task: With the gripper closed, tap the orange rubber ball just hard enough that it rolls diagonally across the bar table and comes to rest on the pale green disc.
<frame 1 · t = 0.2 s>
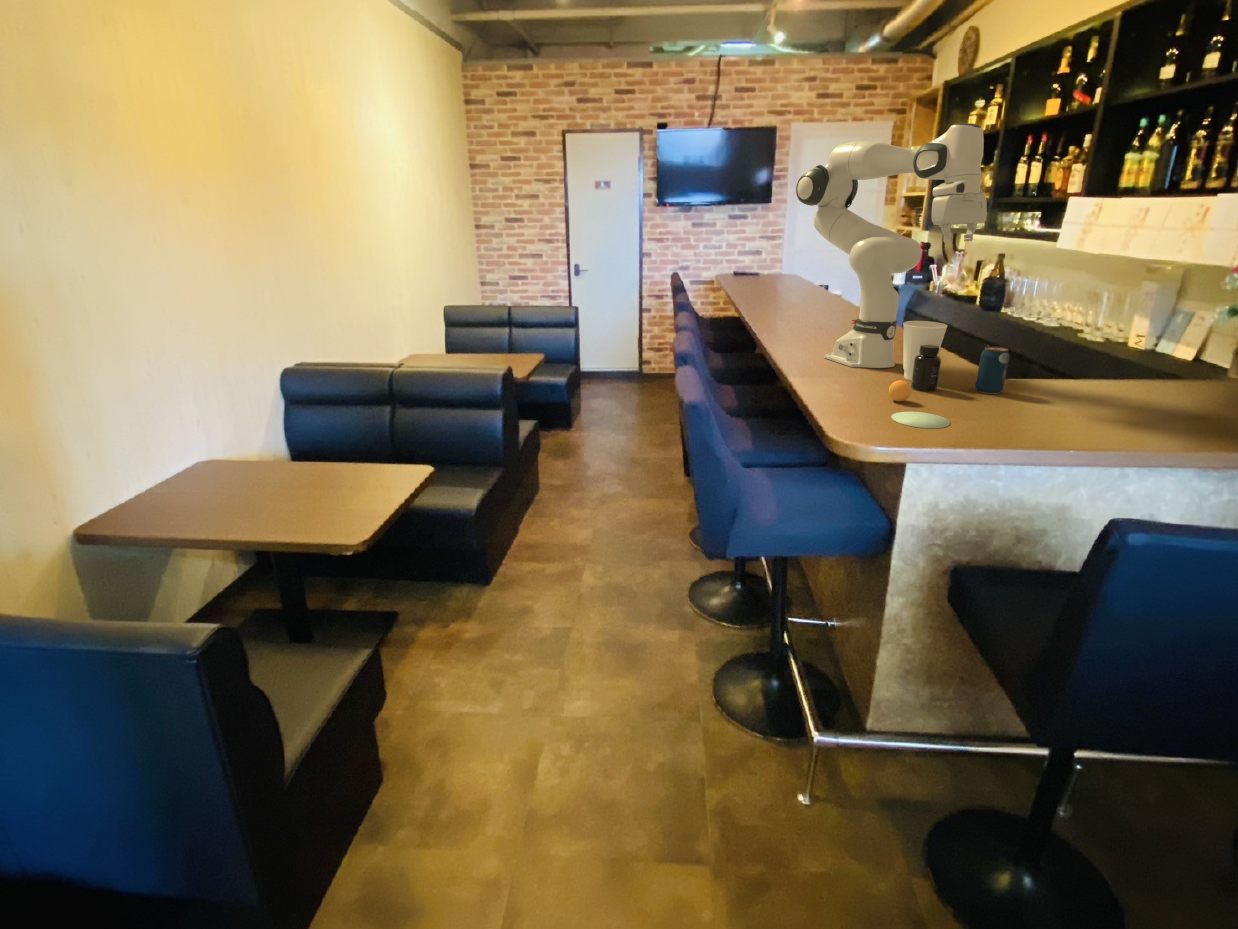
hand: (958, 241, 191), 39 cm above the table, tool pointing down, fingers open, 8 cm apart
ball: (899, 390, 181), on the table
cup: (916, 378, 206), on the table
soda can: (987, 392, 192), on the table
pale green disc: (920, 420, 166), on the table
supplement bottle: (923, 389, 195), on the table
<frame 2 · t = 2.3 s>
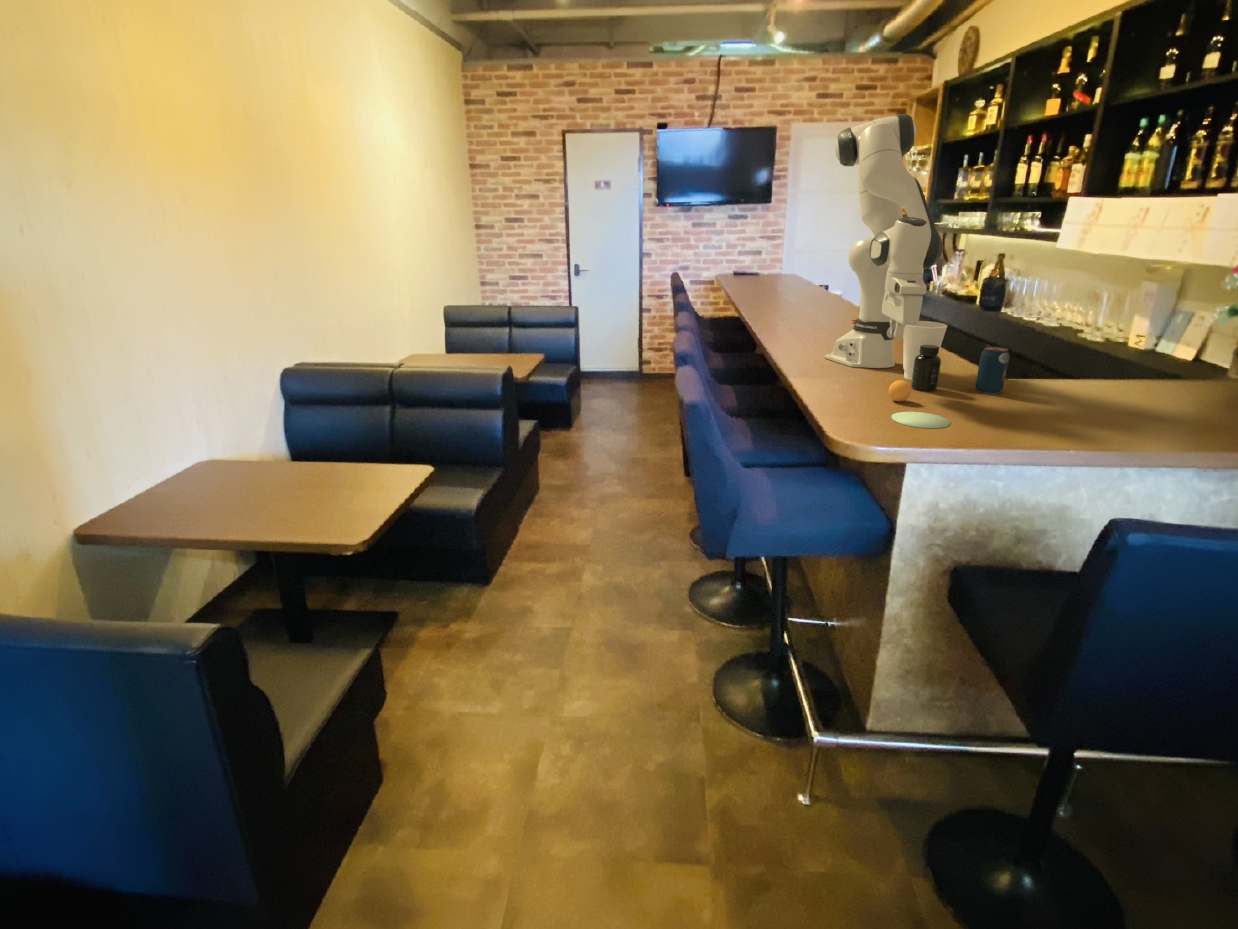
hand: (895, 336, 186), 15 cm above the table, tool pointing down, fingers closed
nothing on the table moved.
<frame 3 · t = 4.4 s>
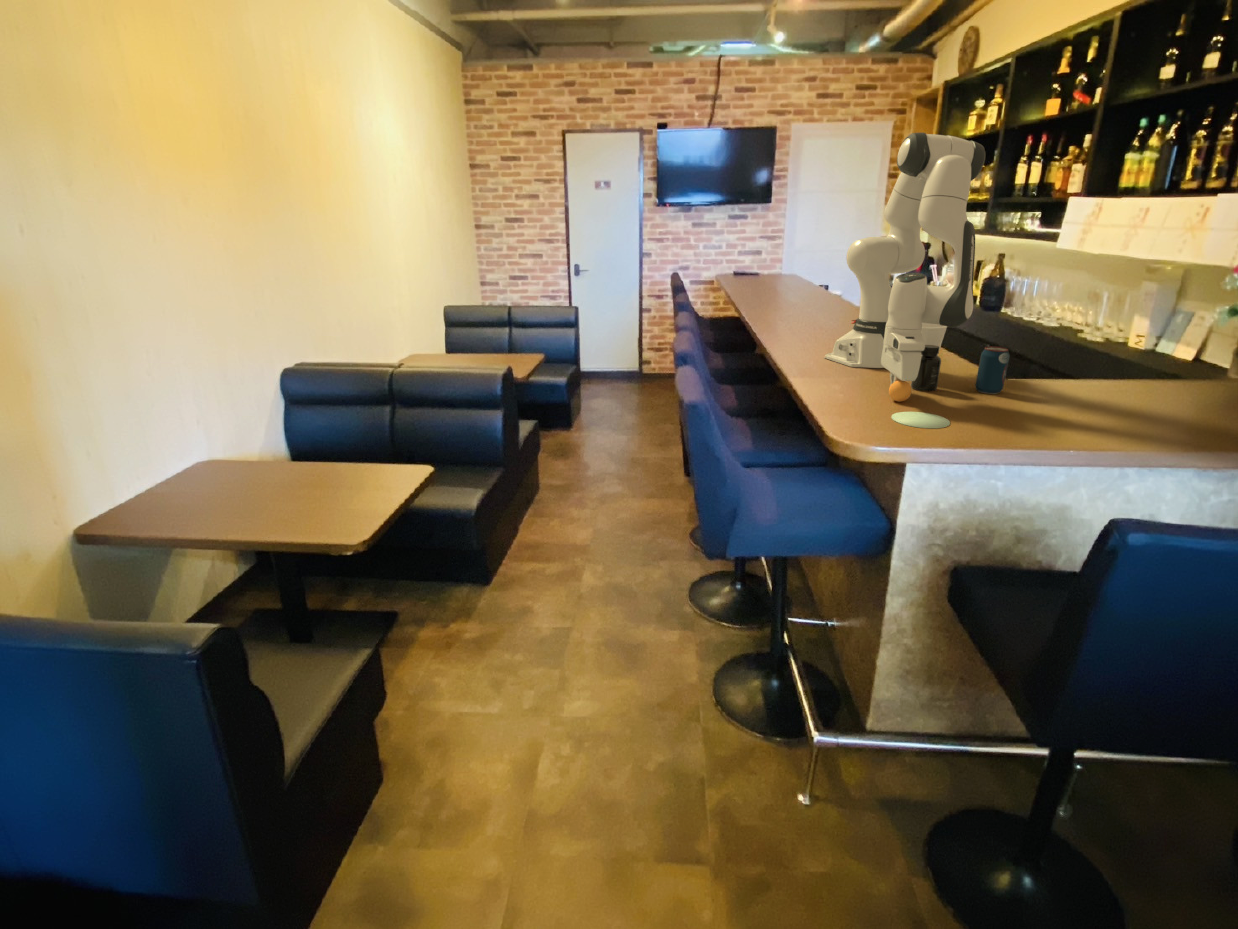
hand: (894, 390, 185), 2 cm above the table, tool pointing down, fingers closed
ball: (900, 390, 181), on the table, touching gripper
everything else where it was.
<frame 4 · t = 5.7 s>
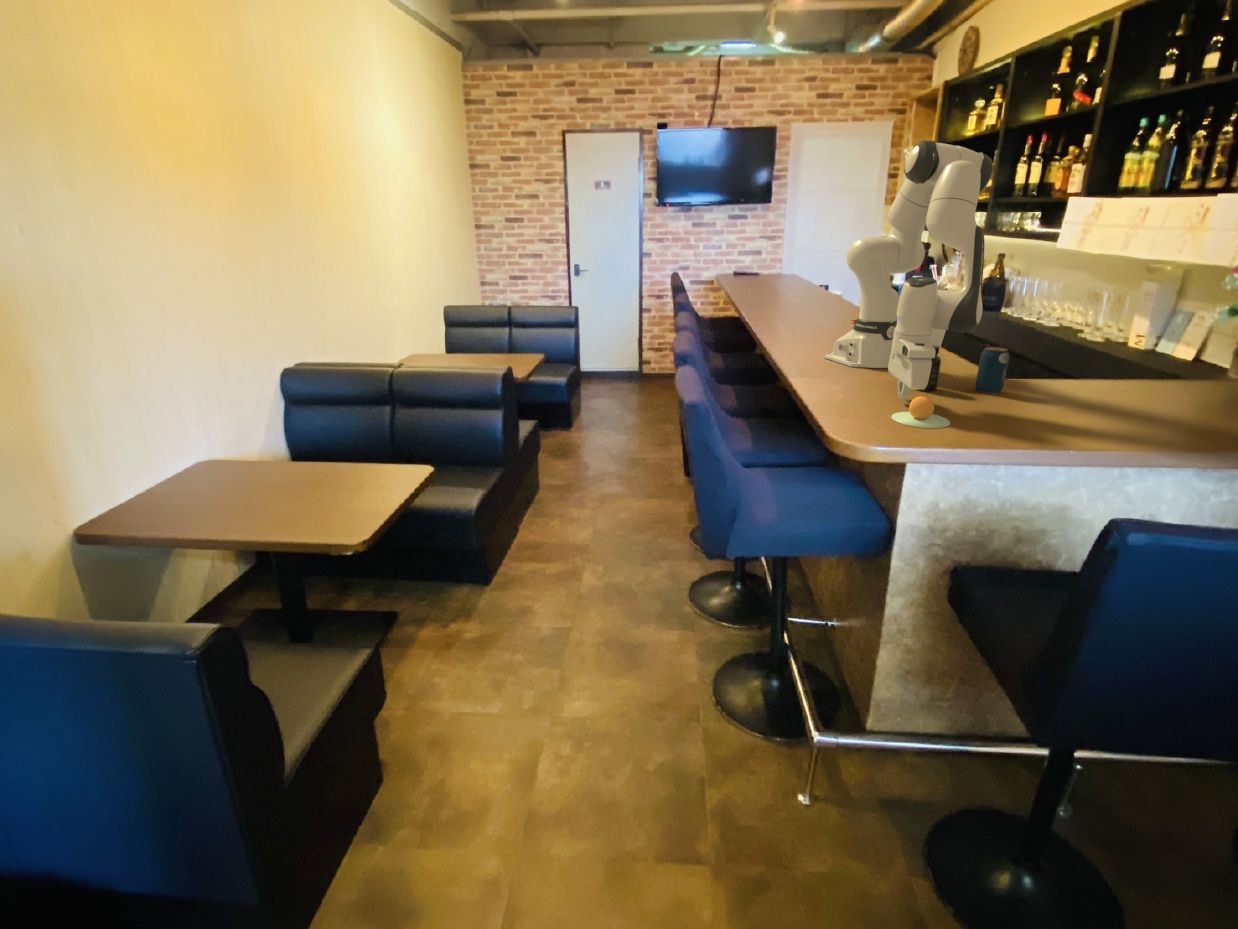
hand: (902, 398, 179), 2 cm above the table, tool pointing down, fingers closed
ball: (921, 407, 166), on the table
everything else where it was.
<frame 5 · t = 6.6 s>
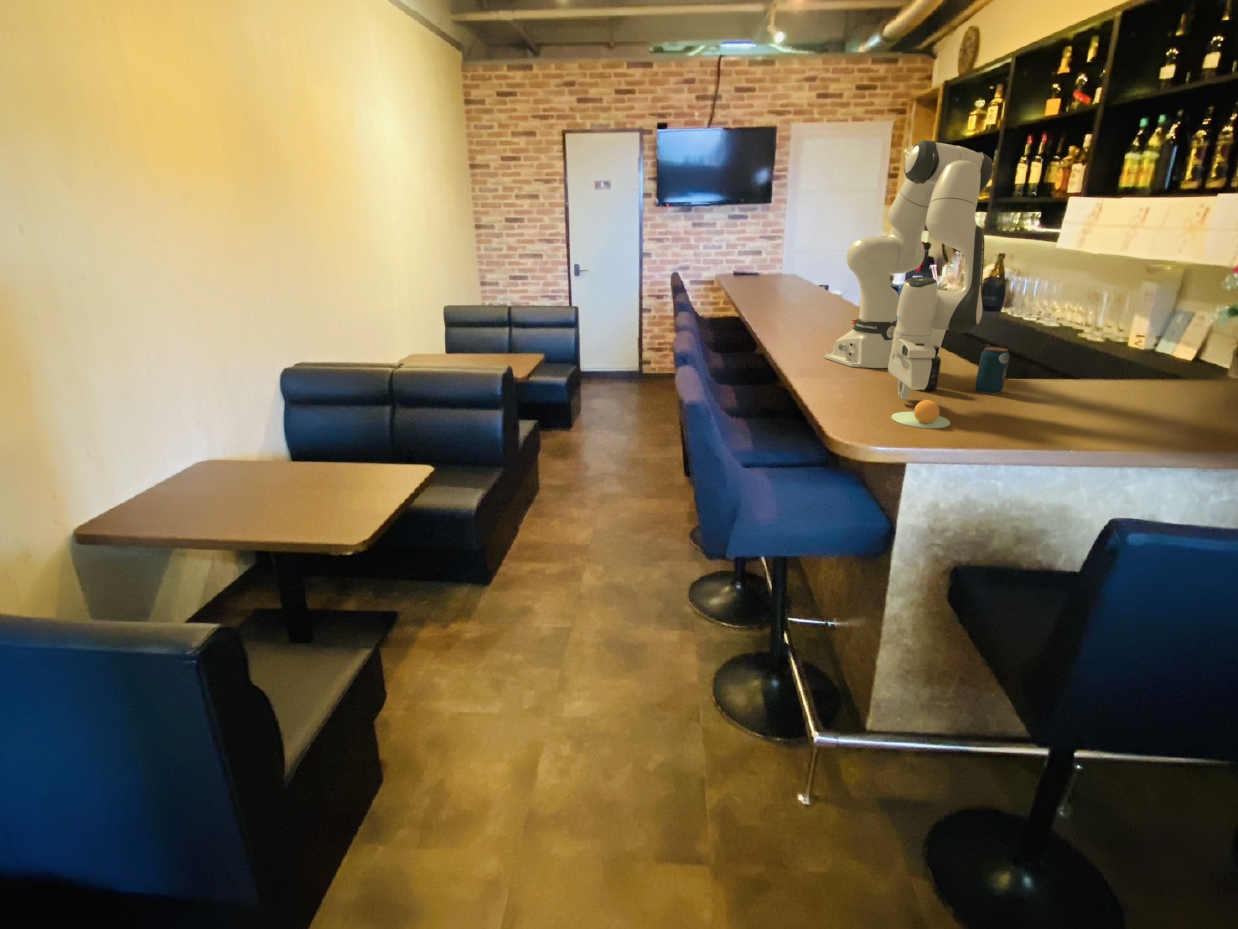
hand: (902, 398, 179), 2 cm above the table, tool pointing down, fingers closed
ball: (926, 411, 163), on the table
everything else where it was.
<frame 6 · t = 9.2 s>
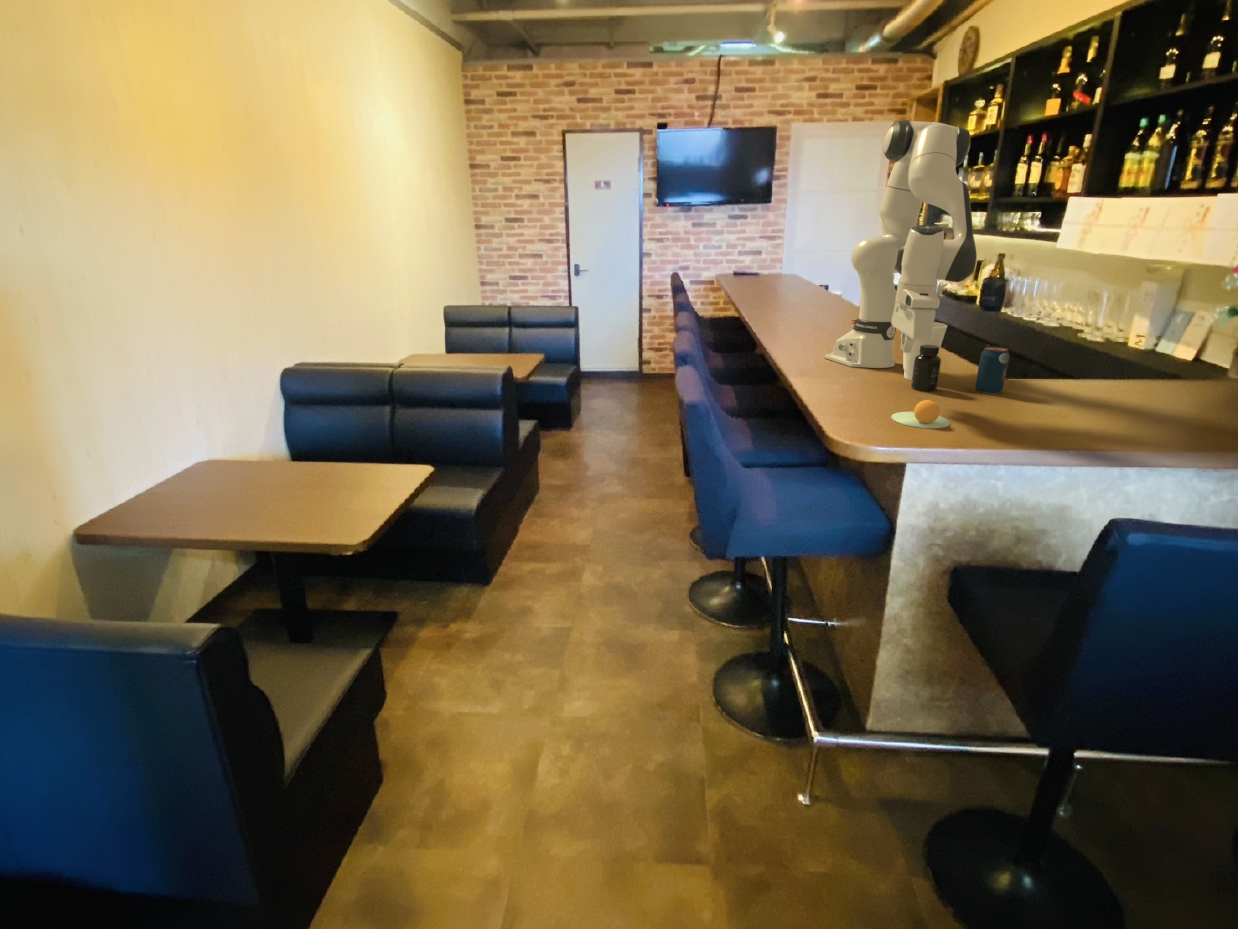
hand: (905, 351, 175), 14 cm above the table, tool pointing down, fingers closed
nothing on the table moved.
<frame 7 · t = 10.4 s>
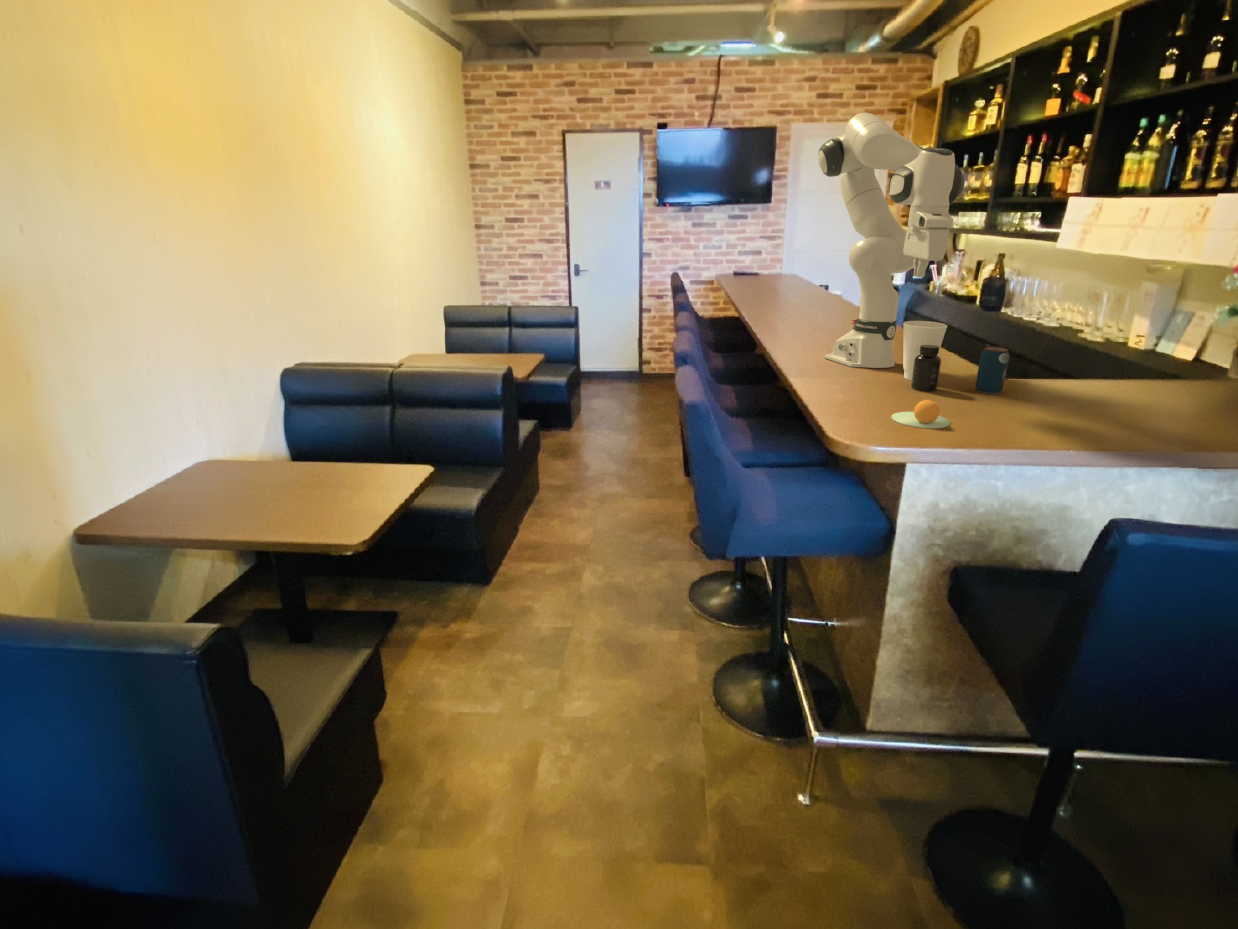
hand: (918, 276, 177), 31 cm above the table, tool pointing down, fingers closed
nothing on the table moved.
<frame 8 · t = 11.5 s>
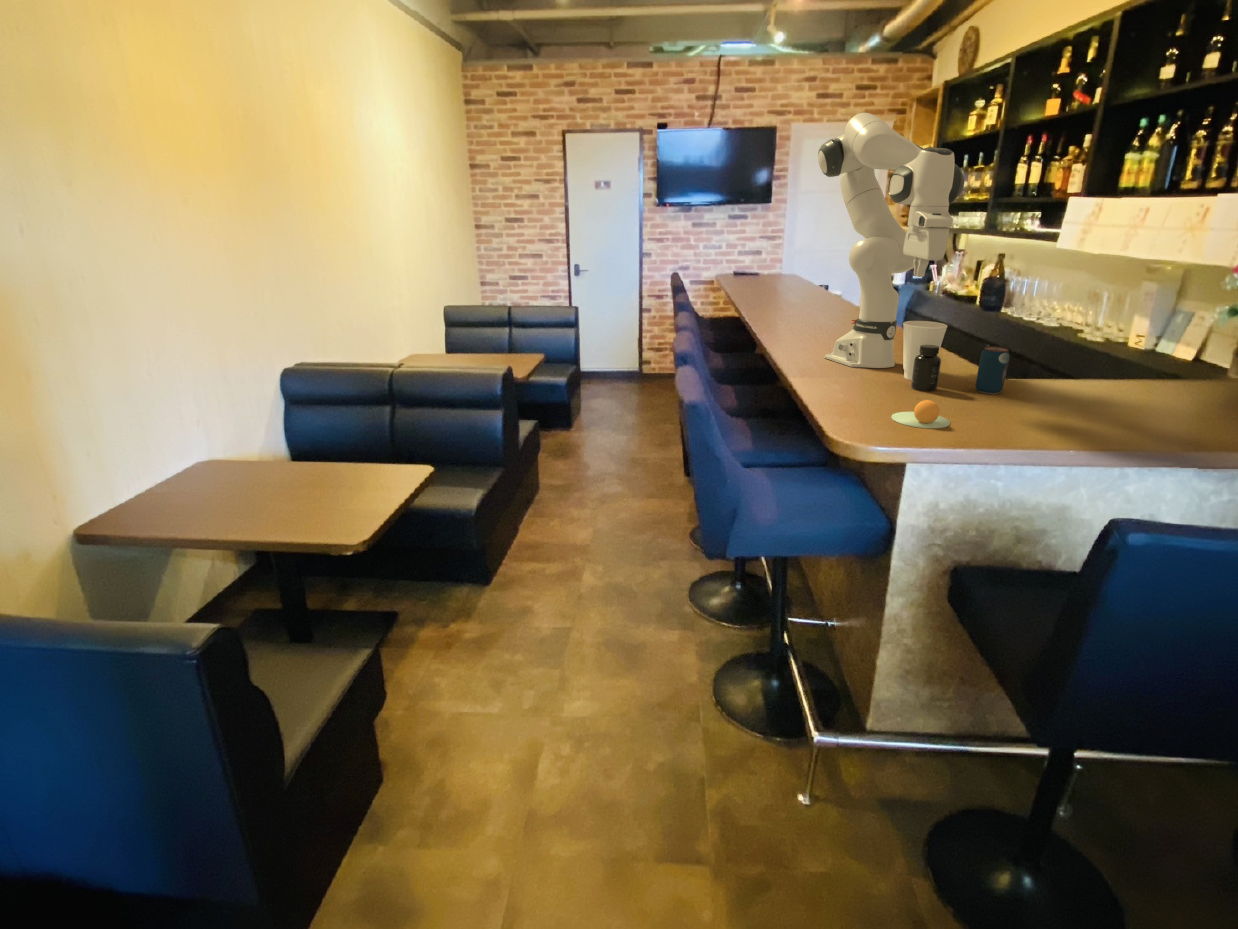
hand: (918, 276, 177), 31 cm above the table, tool pointing down, fingers closed
nothing on the table moved.
at the end: ball 2.3 cm from the pale green disc (horizontally); ball at rest at the end (0.0 cm/s); ball moved 19.3 cm from its start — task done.
